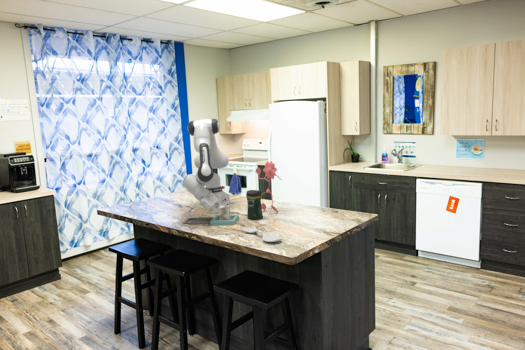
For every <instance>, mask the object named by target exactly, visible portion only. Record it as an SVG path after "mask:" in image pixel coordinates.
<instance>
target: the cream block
mask: <svg viewBox="0 0 525 350" xmlns="http://www.w3.org/2000/svg"><path fill="white" fill-rule="evenodd" d="M230 207H231V205H225V206H220V207H219V208H218V215H219V219H218V221H220V220H232V219H230V215H231V208H230Z"/></svg>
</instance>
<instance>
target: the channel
mask: <svg viewBox="0 0 525 350" xmlns="http://www.w3.org/2000/svg"><path fill="white" fill-rule="evenodd" d="M214 217H215V216H213V217H211V216H210V217H207V216H206V217H205V216H204V217H187V218H185V220H183V221H182V222H181V225H182V224H209V225H211V224H210V221H211V220H212V219H213V218H214ZM189 220H190V221H189Z"/></svg>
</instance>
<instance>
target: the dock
mask: <svg viewBox="0 0 525 350" xmlns="http://www.w3.org/2000/svg"><path fill="white" fill-rule="evenodd" d="M213 217H214V218H213V219H212V220H209V223H210V224H209V225H210V226H235V224H236V223H237V222H238V221H239V219H240V215H239V214H230V219H231V220H220V221H219V214H215V216H213Z"/></svg>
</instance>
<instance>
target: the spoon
mask: <svg viewBox="0 0 525 350" xmlns="http://www.w3.org/2000/svg"><path fill="white" fill-rule="evenodd" d="M240 229H241V230H242V231H243V232H246V233H249V234H254V233H258V234H261V235H262V240H263V241H264V242H266V243H277V242H279V241H281V240H282V238H281V237H280V236H276V235H273V234H268V233H266V232H264V231H263V230H260V229H257V228H256V226H255V225H254V224H252V225H251V226H249V227H240Z"/></svg>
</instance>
